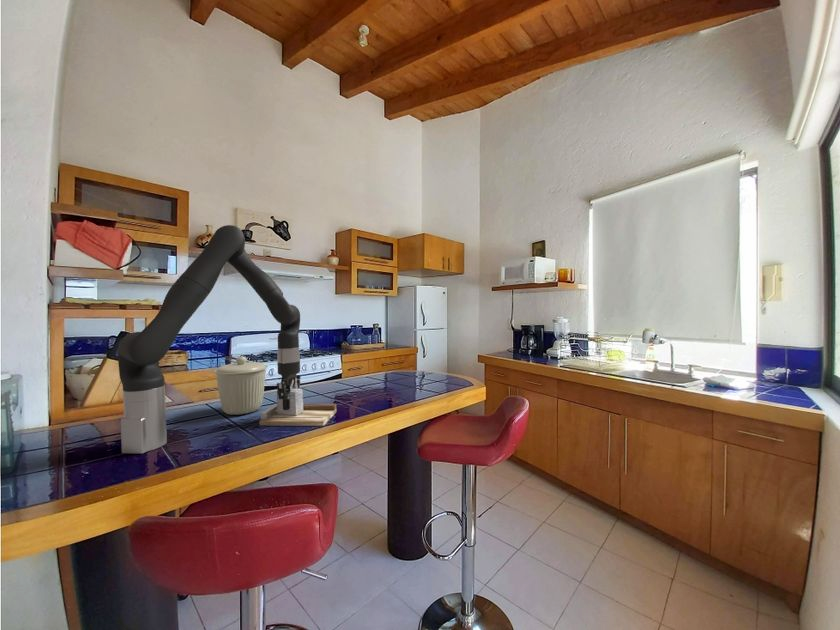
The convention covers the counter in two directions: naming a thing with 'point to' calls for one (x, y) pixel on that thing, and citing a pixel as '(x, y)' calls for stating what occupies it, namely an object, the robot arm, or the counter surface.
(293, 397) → the medicine box
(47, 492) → the counter surface
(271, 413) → the end stop
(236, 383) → the canister
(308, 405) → the walnut fence
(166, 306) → the robot arm
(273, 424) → the maple board
